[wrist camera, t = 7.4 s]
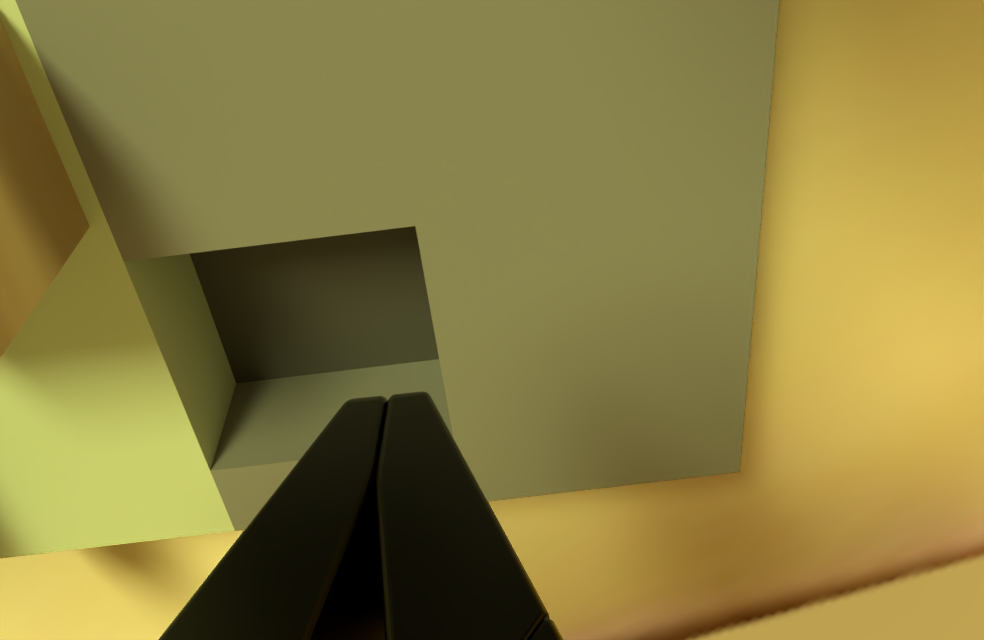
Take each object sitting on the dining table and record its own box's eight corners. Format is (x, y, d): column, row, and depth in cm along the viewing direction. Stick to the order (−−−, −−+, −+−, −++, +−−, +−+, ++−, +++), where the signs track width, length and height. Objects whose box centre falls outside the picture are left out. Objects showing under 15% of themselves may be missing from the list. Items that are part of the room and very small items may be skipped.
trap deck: (758, -891, 11) (1066, -1475, 6) (701, 378, 23) (782, 576, 18) (-725, -684, 11) (-1771, -1052, 6) (-14, 463, 23) (-146, 682, 18)
